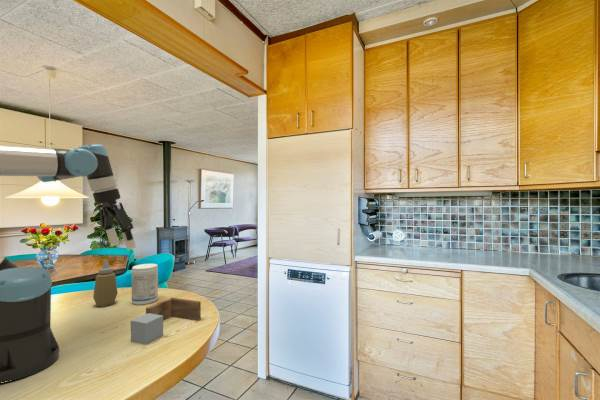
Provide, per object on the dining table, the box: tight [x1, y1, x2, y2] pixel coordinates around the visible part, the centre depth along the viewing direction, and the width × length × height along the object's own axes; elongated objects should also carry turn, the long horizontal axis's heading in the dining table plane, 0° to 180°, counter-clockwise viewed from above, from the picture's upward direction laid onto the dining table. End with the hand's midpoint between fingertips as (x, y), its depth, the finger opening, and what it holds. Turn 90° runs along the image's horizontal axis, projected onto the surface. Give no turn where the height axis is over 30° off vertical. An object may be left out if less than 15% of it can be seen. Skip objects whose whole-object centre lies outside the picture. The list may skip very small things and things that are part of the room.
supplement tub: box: [131, 263, 159, 306], centre depth 116 cm, size 10×10×15 cm
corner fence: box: [145, 297, 202, 322], centre depth 94 cm, size 11×13×6 cm
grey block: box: [130, 313, 164, 345], centre depth 83 cm, size 6×6×6 cm
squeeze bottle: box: [93, 258, 118, 307], centre depth 113 cm, size 8×8×18 cm
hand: (123, 247), depth 101 cm, fingers open, 13 cm apart
